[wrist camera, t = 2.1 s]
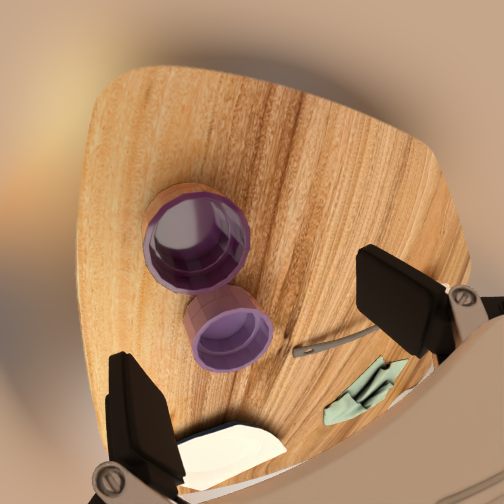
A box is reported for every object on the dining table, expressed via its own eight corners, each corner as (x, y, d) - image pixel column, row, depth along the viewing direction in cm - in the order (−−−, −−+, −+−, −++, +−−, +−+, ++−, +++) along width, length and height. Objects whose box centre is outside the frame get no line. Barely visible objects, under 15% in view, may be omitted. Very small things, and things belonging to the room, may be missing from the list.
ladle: (432, 298, 40) (449, 314, 36) (281, 345, 35) (293, 372, 30) (442, 268, 37) (461, 283, 33) (282, 310, 32) (296, 337, 28)
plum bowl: (132, 258, 19) (133, 285, 15) (157, 170, 17) (161, 178, 14) (214, 274, 22) (230, 301, 19) (242, 196, 20) (265, 209, 17)
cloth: (309, 414, 39) (316, 424, 37) (405, 329, 41) (415, 337, 39) (338, 432, 50) (343, 439, 48) (409, 369, 52) (416, 375, 50)
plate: (287, 437, 41) (293, 448, 38) (197, 481, 38) (201, 492, 36) (233, 401, 30) (241, 417, 28) (118, 457, 27) (121, 472, 25)
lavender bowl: (174, 340, 23) (183, 371, 20) (194, 275, 21) (206, 303, 18) (239, 344, 26) (255, 372, 23) (264, 287, 25) (285, 312, 21)
